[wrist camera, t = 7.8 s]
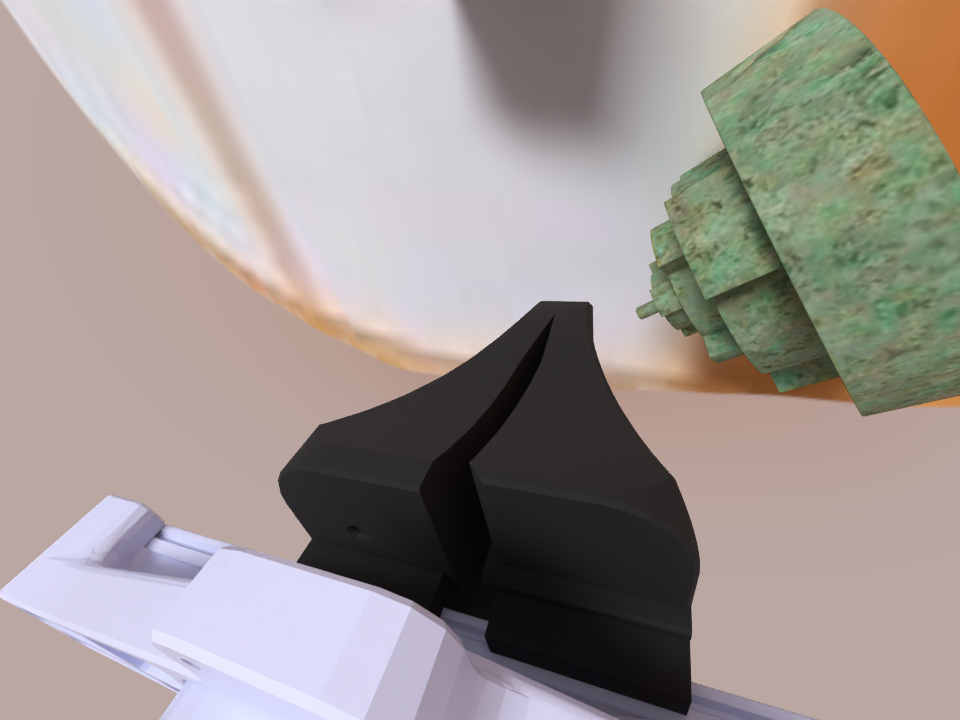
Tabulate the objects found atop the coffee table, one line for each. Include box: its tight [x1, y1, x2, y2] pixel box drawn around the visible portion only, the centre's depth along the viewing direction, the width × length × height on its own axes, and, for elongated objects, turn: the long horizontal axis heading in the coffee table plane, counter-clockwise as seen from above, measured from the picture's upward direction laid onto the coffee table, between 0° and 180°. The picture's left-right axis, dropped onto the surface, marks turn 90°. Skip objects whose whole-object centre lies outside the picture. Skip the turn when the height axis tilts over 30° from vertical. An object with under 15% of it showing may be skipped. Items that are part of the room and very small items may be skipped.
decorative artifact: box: [636, 8, 960, 416], centre depth 13 cm, size 10×7×10 cm
